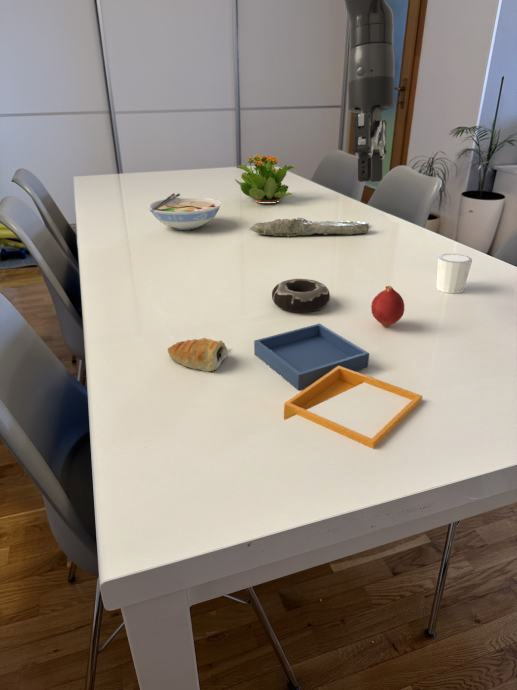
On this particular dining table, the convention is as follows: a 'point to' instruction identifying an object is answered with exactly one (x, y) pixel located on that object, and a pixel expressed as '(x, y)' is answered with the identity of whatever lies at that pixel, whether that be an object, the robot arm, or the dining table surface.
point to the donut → (300, 295)
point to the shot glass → (452, 272)
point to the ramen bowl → (185, 211)
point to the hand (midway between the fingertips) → (370, 181)
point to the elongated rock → (309, 227)
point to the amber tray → (335, 385)
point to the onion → (387, 307)
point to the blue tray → (309, 354)
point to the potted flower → (264, 180)
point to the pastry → (199, 353)
